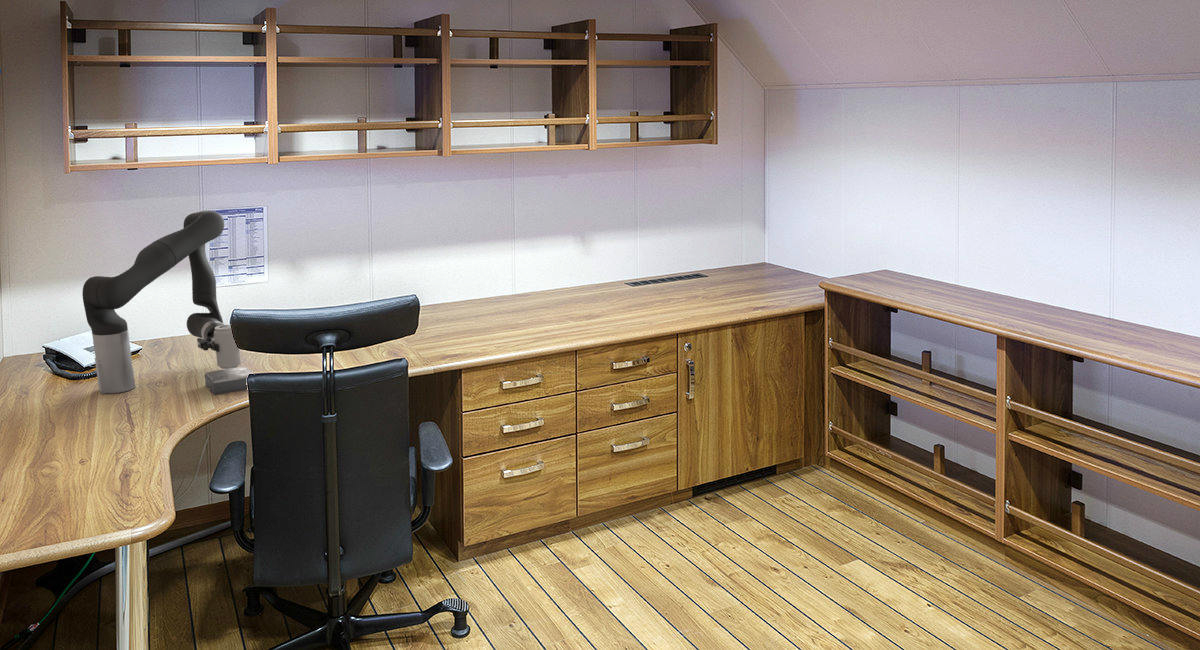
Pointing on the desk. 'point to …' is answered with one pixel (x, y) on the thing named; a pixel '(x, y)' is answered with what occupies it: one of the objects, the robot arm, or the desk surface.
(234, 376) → the stand
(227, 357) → the beverage can
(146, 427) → the desk surface
